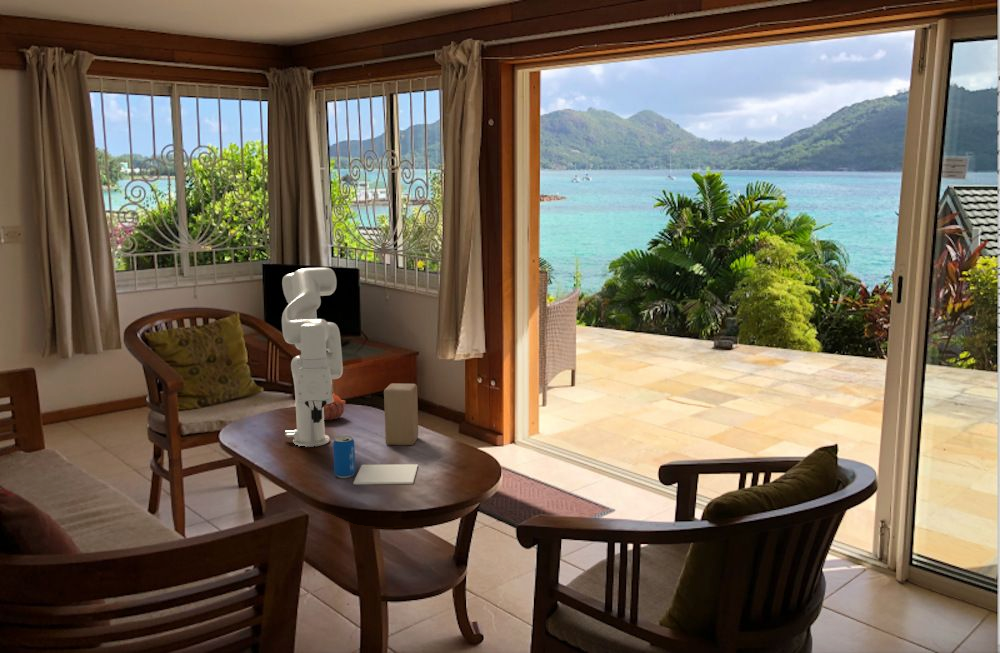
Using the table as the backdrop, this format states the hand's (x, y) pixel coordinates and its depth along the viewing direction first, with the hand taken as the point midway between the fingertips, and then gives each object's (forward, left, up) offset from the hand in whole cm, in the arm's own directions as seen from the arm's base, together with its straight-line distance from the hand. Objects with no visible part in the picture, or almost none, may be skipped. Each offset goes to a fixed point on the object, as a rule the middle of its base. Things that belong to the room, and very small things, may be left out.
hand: (317, 421), depth 257 cm
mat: (+21, 0, -18) cm, 27 cm away
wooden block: (+22, +34, -18) cm, 45 cm away
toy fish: (-9, +62, -18) cm, 66 cm away
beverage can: (+8, 0, -18) cm, 19 cm away
